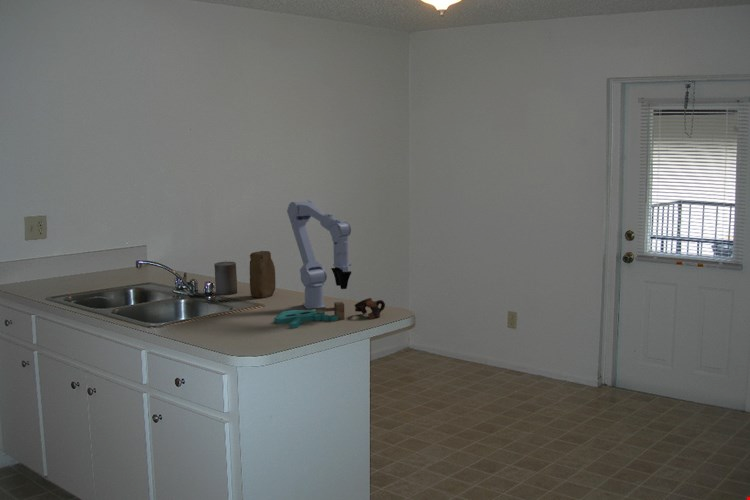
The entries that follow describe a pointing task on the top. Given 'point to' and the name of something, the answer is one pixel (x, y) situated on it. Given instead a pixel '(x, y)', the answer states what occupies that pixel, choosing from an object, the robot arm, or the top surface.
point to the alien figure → (302, 317)
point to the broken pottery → (371, 304)
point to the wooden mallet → (335, 310)
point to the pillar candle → (225, 278)
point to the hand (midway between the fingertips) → (341, 287)
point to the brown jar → (262, 274)
